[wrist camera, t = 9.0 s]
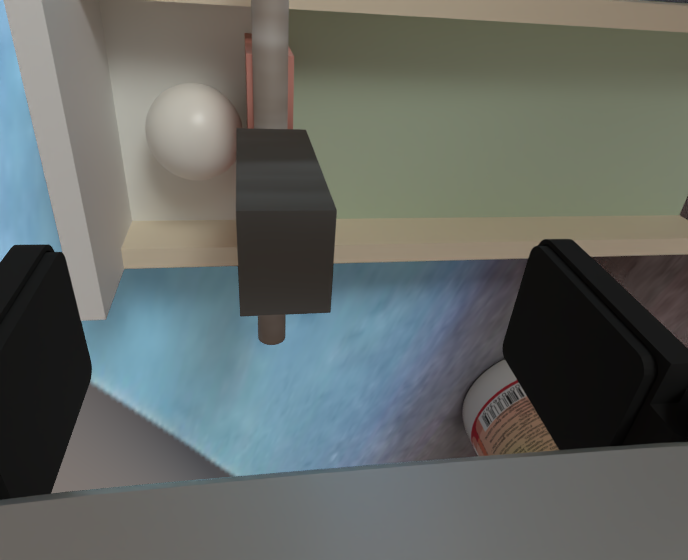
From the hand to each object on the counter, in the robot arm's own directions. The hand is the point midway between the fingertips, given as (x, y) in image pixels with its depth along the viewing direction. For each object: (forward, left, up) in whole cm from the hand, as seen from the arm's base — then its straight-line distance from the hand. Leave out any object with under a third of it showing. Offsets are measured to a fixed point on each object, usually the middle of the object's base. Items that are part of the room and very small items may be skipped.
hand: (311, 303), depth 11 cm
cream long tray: (+1, +8, -17) cm, 19 cm away
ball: (+1, -3, -14) cm, 15 cm away
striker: (+1, 0, -16) cm, 16 cm away
